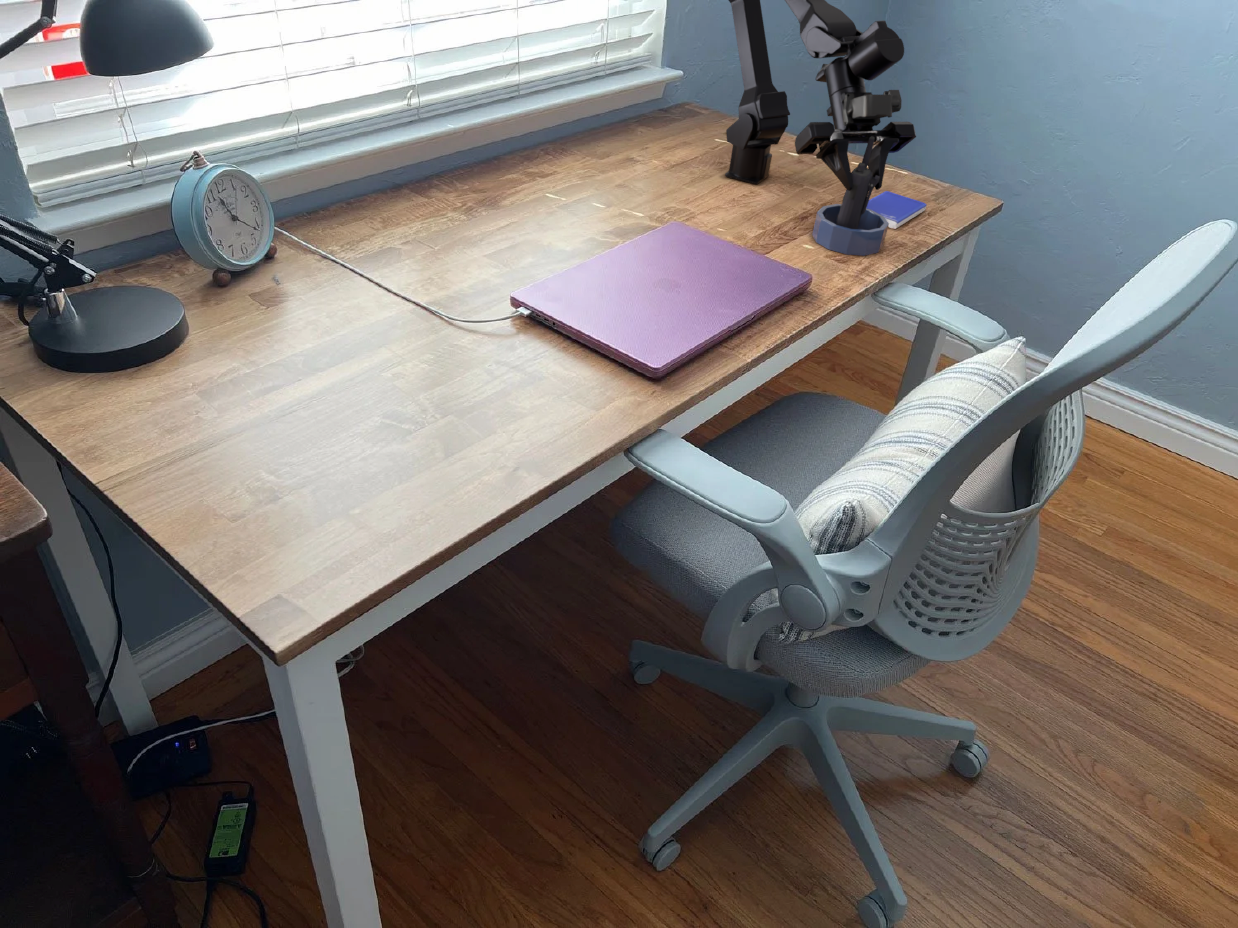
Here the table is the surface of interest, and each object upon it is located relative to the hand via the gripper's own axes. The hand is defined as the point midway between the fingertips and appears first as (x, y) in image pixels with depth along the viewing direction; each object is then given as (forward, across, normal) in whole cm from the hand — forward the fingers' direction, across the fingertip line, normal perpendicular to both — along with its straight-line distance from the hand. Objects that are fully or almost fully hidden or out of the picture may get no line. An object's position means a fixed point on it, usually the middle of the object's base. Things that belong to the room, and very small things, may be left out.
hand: (864, 189), depth 149 cm
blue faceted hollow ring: (+6, 0, +7) cm, 9 cm away
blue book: (-1, +14, +15) cm, 20 cm away
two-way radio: (+4, 0, +7) cm, 8 cm away
